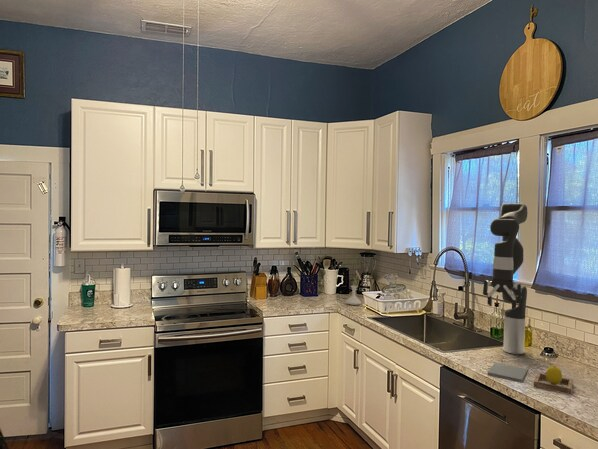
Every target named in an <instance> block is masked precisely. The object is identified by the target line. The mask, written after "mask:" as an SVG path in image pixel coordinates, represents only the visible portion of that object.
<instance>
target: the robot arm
mask: <svg viewBox="0 0 598 449" xmlns="http://www.w3.org/2000/svg"><path fill="white" fill-rule="evenodd" d="M527 218H528V207H527V205H526V203H525V204H524V203H522V202H521V203H520V202H519V203H517V202H516V203H515V202H510V203H509V202H506V203H502V205H501V206H500V217H496V218H494V219H493V220H492V221H491V223H490V226H489V229H490V232H491V234H492V235H493V236H495V237H502V240H501V241H498V242H496V243H494V250H493V252H494V253H493V254H494V256H493V260H492V262H493V264H492V280H491V281H490V280H487V279H486V280H484V281H483V290H482V295H484V296H486V297H487V305H488V306H489V307H493V295H494V294H495V293H499V294H500V293H501V296H502V301H503V302H505V303H510V304H511V308H508V309H506V310H504V325H503V326H504V327H503V345H502V346H503V349H502V350H503V351H504V352H506V353H509V354H514V355H522V354H525V340H526V339H525V335H526V332H525V331H526V313H527V312H526V311H527V310H526V309H527V308H526V306H527V297H528V289H527V287H526V285H523V284H522V283H519V282H518V283H514V275H515V273H516V272H517V271H518V270H519V269H520V268H521V266H522V265H523V263H524V247H523V245H522V243H521V241H520V240H519V239H518V238H517V236H518V233H519V232H520V224H523V223H525V222H526V221H527ZM490 285H491V286H492V290H491V291H489V292H488V289H489V286H490ZM517 304H518V305H517Z"/></svg>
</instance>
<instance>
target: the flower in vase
mask: <svg viewBox="0 0 598 449" xmlns="http://www.w3.org/2000/svg"><path fill="white" fill-rule="evenodd" d="M355 273H356V276H355V279H354V281H353V282H352V284H353V285H350V287H351V290H352V291H351V292H352V293H351V296H350V297H349V298H347V299H346V300H345V303H346V304H347V305H349V306H359V305H361V304H362V301H361V299H360V298H358V297H357V296H356V290H357V288H358V285H355V284H357V281H356V279H358V280H359V281H361V280H362V278H361V275H360V274H359V272H358V270H355ZM357 277H358V278H357Z"/></svg>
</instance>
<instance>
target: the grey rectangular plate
mask: <svg viewBox="0 0 598 449" xmlns="http://www.w3.org/2000/svg"><path fill="white" fill-rule="evenodd" d="M528 370H529V369H528V368H524V367H521V366H520V367H519V366H514V365H510V364H505V363H504V364H503V363H500V362H494V363H493V365H492V366H490V369H489V370H488V371H487V375H488V376H492V377H496V378H502V379H507V380H512V381H515V382H520V383H523V382H524V379H525V377H526V375H527V373H528Z"/></svg>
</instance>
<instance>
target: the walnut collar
mask: <svg viewBox="0 0 598 449" xmlns="http://www.w3.org/2000/svg"><path fill="white" fill-rule="evenodd" d="M540 380H543V381H540ZM544 381H547V379H546V373H541V372H537V373H536V376H535V377H534V381H533V387H534V388H535V387H536V388H539V389H544V390H548V389H549V391H553V392H557V391H558V392H559V393H562V392H563V393H564V394H567V395H572V392H573V382H574V379H571V378H567V377H562V381H561V382H560V383H559V384H564V385H567V386H562V385H559V384H557V385H554V384H551V383H549V382H544Z"/></svg>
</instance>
